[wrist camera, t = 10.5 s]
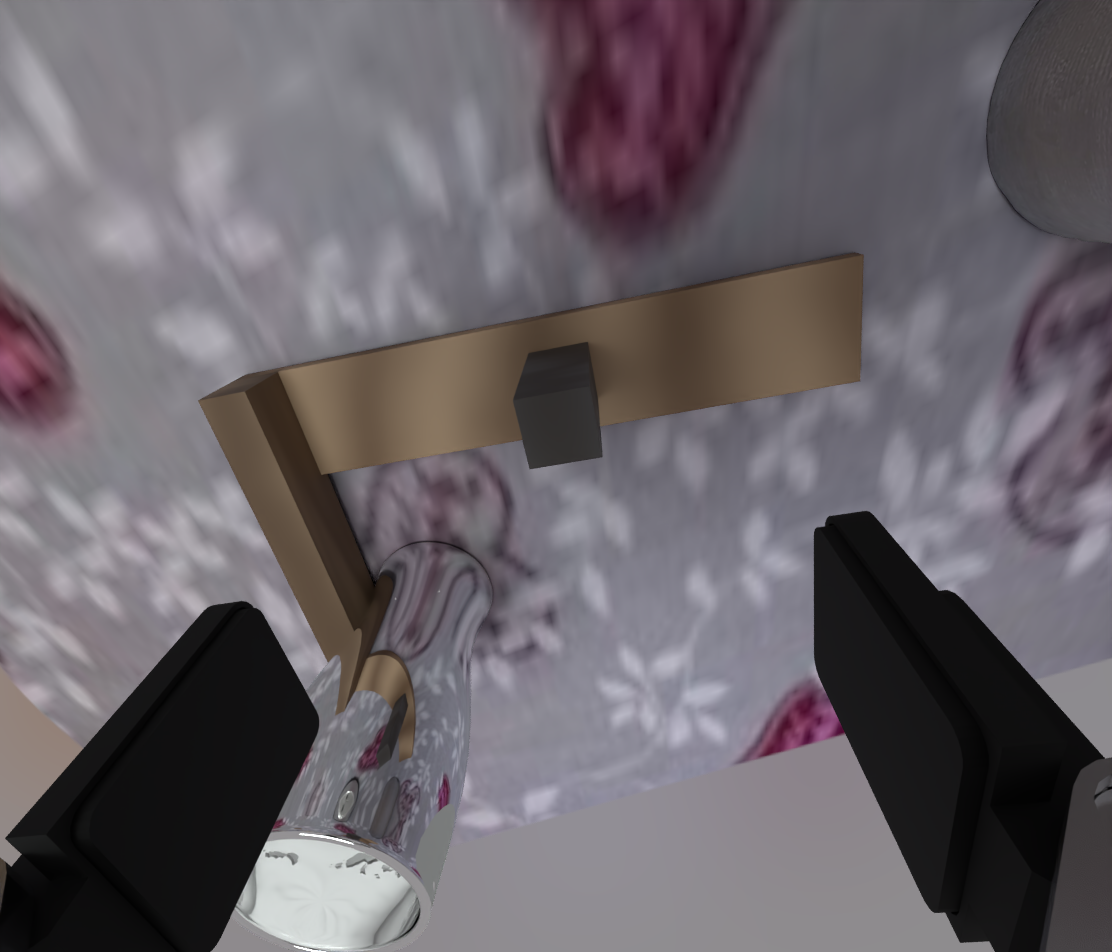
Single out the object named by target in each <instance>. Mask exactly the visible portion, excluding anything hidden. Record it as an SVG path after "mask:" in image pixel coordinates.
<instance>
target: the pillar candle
mask: <svg viewBox="0 0 1112 952" xmlns="http://www.w3.org/2000/svg"><path fill="white" fill-rule="evenodd" d="M987 122H988V124H987V142H988V143H987V149H988V161H989V165H990V169H991V172H992V175H993V177H994V179H995V181H996V182H997V185H998V187H999V188H1000V189H1001V190H1002V192H1003V193H1004V195H1005V196H1006V197H1007V198H1008V200H1009V202H1010V203H1011V204H1012V205H1013V207H1014V209H1015V210H1016V211H1017V212H1018V213H1020V214H1021V215H1022V216H1023V217H1024V218H1025V219H1026V220H1028V221H1029V222H1031V223H1032V224H1033V225H1035V226H1036V227H1038V228H1039V229H1041V230H1044V231H1046V232H1048V233H1052V234H1056V235H1060V236H1063V237H1066V238H1076V239H1079V240H1081V241H1087V242H1104V243H1110V244H1112V0H1040V1H1039V3H1038V4H1037V5H1036V7H1035V8H1034V9H1033V11H1032V12H1031V14H1030V15H1029V17H1028V18H1027V20H1026V21H1025V23H1024V24H1023V26H1022V28H1021V29H1020V31H1019V33H1018V34H1017V36H1016V38H1015V40H1014V42H1013V44H1012V46H1011V48H1010V50H1009V52H1008V55H1007V56H1006V58H1005V60H1004V62H1003V64H1002V66H1001V70H1000V73H999V76H998V78H997V82H996V86H995V89H994V92H993V95H992V99H991V106H990V111H989V115H988V119H987Z"/></svg>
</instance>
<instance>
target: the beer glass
mask: <svg viewBox="0 0 1112 952" xmlns="http://www.w3.org/2000/svg"><path fill="white" fill-rule="evenodd" d="M492 598H493V592H492V586H491V582H490V579H489V577H488V575H487V573H486V571H485V570H484V568H483V567H482V566H481V565H480V563H479V562H478V561H477V560H475V559H474V558H473V557H472V556H471V555H469V554H468V553H466V552H464V551H463V550H461V549H459V548H456V547H454V546H451V545H448V544H443V543H437V542H420V543H414V544H410V545H407V546H405V547H403V548H401V549H399V550H397V551H396V552H394V553H393V554H392V555H391V556H390V557H389V558H388V559H387V560H386V561H385V562H384V564H383V565H382V567H381V569H380V571H379V574H378V577H377V581H376V585H375V589H374V594H373V599H372V602H371V605H370V608H369V610H368V612H367V614H366V616H365V617H364V619H363V621H362V622H361V624H360V625H359V626H358V627H357V629H356V630H355V631H354V633H353V634H352V635H351V636H350V637H349V639H348V640H347V641H346V642H345V643H344V644H343V646H342V647H341V648H340V649H339V650H338V651H337V653H336V654H335V655H334V656H333V657H332V659H331V660H330V661H329V662H328V663H327V665H326V666H325V667H324V668H323V670H322V671H321V672H320V673H319V674H318V676H317V677H316V678H315V679H314V681H313V682H312V684H311V685H310V686H309V688H308V689H307V690H306V693H307V694H308V696H309V698H310V700H311V702H312V703H313V705H314V707H315V709H316V710H317V713H318V715H319V730H318V734H317V736H316V738H315V741H314V743H313V745H312V747H311V749H310V751H309V753H308V755H307V757H306V759H305V762H304V764H303V766H302V768H301V770H300V772H299V774H298V776H297V778H296V780H295V783H294V785H293V787H292V789H291V791H290V793H289V795H288V797H287V799H286V801H285V804H284V806H283V808H282V810H281V812H280V814H279V816H278V818H277V820H276V822H275V825H274V827H273V829H272V831H271V833H270V835H269V837H268V839H267V841H266V843H265V846H264V848H263V850H262V852H261V854H260V856H259V858H258V860H257V862H256V864H255V867H254V869H253V871H252V873H251V875H250V877H249V879H248V881H247V883H246V885H245V888H244V890H243V892H242V894H241V896H240V898H239V900H238V902H237V904H236V906H235V909H234V911H233V913H232V915H231V918H232V919H233V920H234V921H235V922H237V923H238V924H239V925H240V926H242V927H243V928H245V929H246V930H247V931H249V932H251V933H252V934H254V935H256V936H258V937H259V938H261V939H264V940H266V941H268V942H270V943H272V944H275V945H277V946H280V947H283V948H286V949H289V950H293V951H295V952H394V951H397V950H399V949H402V948H404V947H405V946H407V945H409V944H411V943H412V942H414V941H415V940H416V939H417V938H418V937H419V936H420V935H421V934H422V933H423V931H424V930H425V929H426V927H427V925H428V923H429V920H430V917H431V909H432V905H433V901H434V898H435V894H436V890H437V887H438V883H439V880H440V876H441V873H442V870H443V866H444V863H445V860H446V856H447V853H448V849H449V845H450V842H451V838H452V834H453V831H454V827H455V823H456V819H457V814H458V810H459V806H460V802H461V797H462V793H463V787H464V781H465V775H466V769H467V763H468V757H469V743H470V728H471V662H472V652H473V646H474V643H475V640H476V637H477V635H478V633H479V631H480V629H481V627H482V625H483V623H484V622H485V620H486V618H487V615H488V613H489V611H490V608H491V604H492Z"/></svg>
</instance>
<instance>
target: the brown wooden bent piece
mask: <svg viewBox="0 0 1112 952" xmlns="http://www.w3.org/2000/svg"><path fill="white" fill-rule="evenodd" d="M863 259H864V255H863V254H859V253H850V254H845V255H840V256H835V257H830V258H825V259H820V260H815V261H810V262H805V263H800V264H795V265H790V266H785V267H780V268H775V269H770V270H765V271H760V272H755V273H751V274H746V275H741V276H736V277H731V278H726V279H721V280H716V281H711V282H706V283H701V284H696V285H691V286H686V287H681V288H676V289H671V290H666V291H661V292H656V293H651V294H646V295H641V296H636V297H631V298H626V299H621V300H616V301H611V302H606V303H601V304H596V305H591V306H586V307H581V308H576V309H571V310H566V311H561V312H556V313H551V314H546V315H541V316H536V317H531V318H526V319H521V320H516V321H511V322H507V323H502V324H497V325H492V326H487V327H482V328H477V329H472V330H467V331H462V332H457V333H452V334H447V335H442V336H437V337H432V338H427V339H422V340H417V341H412V342H407V343H402V344H397V345H392V346H387V347H382V348H377V349H372V350H367V351H362V352H357V353H352V354H347V355H342V356H337V357H332V358H327V359H322V360H317V361H312V362H307V363H302V364H297V365H292V366H287V367H282V368H277V369H272V370H267V371H263V372H258V373H253V374H248V375H244V376H242V377H240V378H239V379H237V380H235V381H233V382H231V383H229V384H228V385H226V386H224V387H222V388H220V389H219V390H217V391H215V392H213V393H211V394H209V395H208V396H206V397H204V398H202V399H200V400H198V402H199V404H200V406H201V408H202V410H203V412H204V414H205V416H206V418H207V420H208V422H209V424H210V426H211V428H212V430H213V432H214V434H215V436H216V438H217V440H218V442H219V444H220V446H221V448H222V450H223V452H224V454H225V456H226V458H227V460H228V462H229V464H230V466H231V468H232V470H233V472H234V474H235V476H236V478H237V480H238V482H239V484H240V486H241V488H242V490H243V492H244V494H245V496H246V498H247V500H248V502H249V504H250V506H251V508H252V510H253V512H254V514H255V516H256V518H257V520H258V522H259V524H260V526H261V528H262V530H263V532H264V535H265V537H266V539H267V541H268V543H269V545H270V547H271V549H272V551H273V553H274V555H275V557H276V559H277V561H278V563H279V565H280V567H281V569H282V571H283V573H284V575H285V577H286V579H287V581H288V583H289V585H290V587H291V589H292V591H293V593H294V595H295V597H296V599H297V601H298V603H299V605H300V607H301V609H302V611H303V613H304V615H305V617H306V619H307V621H308V623H309V625H310V627H311V629H312V631H313V633H314V635H315V637H316V639H317V641H318V643H319V645H320V647H321V649H322V651H323V653H324V655H325V657H326V659H327V661H328V662H329V661H330V660H331V659H332V657H333V656H334V655H335V654H336V653H337V651H338V650H339V649H340V648H341V647H342V646H343V644H344V643H345V642H346V641H347V640H348V639H349V637H350V636H351V635H352V634H353V633H354V631H355V630H356V629H357V627H358V626H359V625H360V624H361V622H362V621H363V619H364V617H365V616H366V614H367V612H368V610H369V608H370V605H371V602H372V599H373V594H374V589H375V587H374V584H373V582H372V580H371V577H370V575H369V572H368V570H367V568H366V565H365V563H364V560H363V558H362V556H361V553H360V551H359V548H358V546H357V544H356V541H355V539H354V537H353V534H352V532H351V529H350V527H349V525H348V522H347V520H346V517H345V515H344V513H343V510H342V508H341V505H340V503H339V501H338V498H337V496H336V494H335V491H334V489H333V486H332V484H331V482H330V479H329V477H328V474H329V473H335V472H340V471H346V470H352V469H358V468H363V467H369V466H375V465H381V464H386V463H392V462H398V461H404V460H409V459H415V458H421V457H427V456H432V455H438V454H444V453H450V452H455V451H461V450H467V449H473V448H478V447H484V446H490V445H496V444H501V443H507V442H513V441H519V440H523V444H524V448H525V452H526V456H527V460H528V464H529V468H530V469H534V468H540V467H546V466H552V465H558V464H564V463H570V462H576V461H582V460H588V459H594V458H600V457H602V443H601V430H600V426H605V425H611V424H616V423H622V422H628V421H634V420H639V419H645V418H651V417H657V416H662V415H668V414H674V413H680V412H685V411H691V410H697V409H703V408H708V407H714V406H720V405H726V404H731V403H737V402H743V401H749V400H754V399H760V398H766V397H772V396H777V395H783V394H789V393H795V392H800V391H806V390H812V389H818V388H823V387H829V386H835V385H841V384H846V383H852V382H858V381H860V368H861V332H862V296H863Z"/></svg>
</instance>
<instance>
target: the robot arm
mask: <svg viewBox="0 0 1112 952" xmlns="http://www.w3.org/2000/svg"><path fill="white" fill-rule="evenodd" d="M814 659H815V665H816V669H817V673H818V676H819V678H820V681H821V683H822V685H823V687H824V689H825V691H826V693H827V696H828V698H829V700H830V702H831V704H832V706H833V708H834V710H835V713H836V715H837V717H838V719H839V721H840V723H841V725H842V727H843V730H844V732H845V734H846V736H847V738H848V740H849V742H850V744H851V747H852V749H853V751H854V753H855V755H856V757H857V759H858V761H859V763H860V766H861V768H862V770H863V772H864V774H865V776H866V778H867V780H868V783H869V785H870V787H871V789H872V791H873V793H874V795H875V797H876V800H877V802H878V804H879V806H880V808H881V810H882V812H883V814H884V816H885V819H886V821H887V823H888V825H889V827H890V829H891V831H892V834H893V836H894V838H895V840H896V842H897V844H898V846H899V848H900V850H901V853H902V855H903V857H904V859H905V861H906V863H907V865H908V867H909V869H910V872H911V874H912V876H913V878H914V880H915V882H916V884H917V887H918V888H919V891H920V893H921V895H922V897H923V899H924V901H925V902H926V904H927V905H928V907H929V909H930V910H931V911H932V912H934V913H943V912H945V913H946V915H947V917H948V919H949V921H950V923H951V925H952V927H953V929H954V931H955V933H956V935H957V937H958V939H959V941H960V943H964V942H983V941H989V942H990V943H991V945H992V947H993V949H994V951H995V952H1112V758H1106V759H1105V758H1104V757H1103V756H1102V755H1101V754H1100V753H1099V751H1098V750H1097V749H1096V748H1095V747H1094V746H1093V744H1092V743H1091V742H1090V741H1089V740H1088V739H1087V738H1086V737H1085V736H1084V734H1083V733H1082V732H1081V731H1080V730H1079V729H1078V728H1077V727H1076V726H1075V724H1074V723H1073V722H1072V721H1071V720H1070V719H1069V718H1068V717H1067V716H1066V714H1065V713H1064V712H1063V711H1062V710H1061V709H1060V708H1059V707H1058V705H1057V704H1056V703H1055V702H1054V701H1053V700H1052V699H1051V698H1050V697H1049V696H1048V694H1047V693H1046V692H1045V691H1044V690H1043V689H1042V688H1041V687H1040V685H1039V684H1038V683H1037V682H1036V681H1035V680H1034V679H1033V678H1032V677H1031V675H1030V674H1029V673H1028V672H1027V671H1026V670H1025V669H1024V668H1023V666H1022V665H1021V664H1020V663H1019V662H1018V661H1017V660H1016V659H1015V658H1014V656H1013V655H1012V654H1011V653H1010V652H1009V651H1008V650H1007V649H1006V648H1005V646H1004V645H1003V644H1002V643H1001V642H1000V641H999V640H998V639H997V638H996V636H995V635H994V634H993V633H992V632H991V631H990V630H989V629H988V627H987V626H986V625H985V624H984V623H983V622H982V621H981V620H980V619H979V617H978V616H977V615H976V614H975V613H974V612H973V611H972V610H971V609H970V607H969V606H968V605H967V604H966V603H965V602H964V601H963V600H962V599H961V598H960V597H959V596H958V595H956V594H955V593H953V592H951V591H948V590H943V591H938V590H937V589H936V587H935V586H934V585H933V584H932V583H931V582H930V580H929V579H928V578H927V577H926V576H925V575H924V573H923V572H922V571H921V570H920V569H919V568H918V566H917V565H916V564H915V563H914V562H913V561H912V559H911V558H910V557H909V556H908V555H907V554H906V552H905V551H904V550H903V549H902V548H901V547H900V545H899V544H898V543H897V542H896V541H895V540H894V538H893V537H892V536H891V535H890V534H889V533H888V531H887V530H886V529H885V528H884V527H883V526H882V524H881V523H880V522H879V521H878V520H877V519H876V517H875V516H874V515H873V514H872V513H870V512H869V511H862V512H855V513H848V514H841V515H835V516H829V517H828V518H827V519H826V522H825V527H818V528H816V529H815V531H814ZM318 730H319V715H318V713H317V710H316V709H315V707H314V705H313V703H312V702H311V700H310V698H309V696H308V694H307V693H306V691H305V689H304V687H303V685H302V684H301V682H300V680H299V678H298V676H297V675H296V673H295V671H294V669H293V667H292V666H291V664H290V662H289V660H288V658H287V657H286V655H285V653H284V651H283V649H282V648H281V646H280V644H279V642H278V640H277V639H276V637H275V635H274V633H273V631H272V630H271V628H270V626H269V624H268V622H267V621H266V619H265V617H264V615H263V614H262V612H261V611H260V610H258V609H257V608H253V606H252V605H251V604H249V603H248V602H244V601H239V602H232V603H225V604H218V605H213V606H210V607H208V608H207V609H206V610H204V611H203V612H202V614H201V615H200V616H199V617H198V618H197V619H196V620H195V622H194V623H193V624H192V625H191V626H190V627H189V628H188V630H187V631H186V632H185V633H184V634H183V635H182V636H181V638H180V639H179V640H178V641H177V642H176V643H175V644H174V646H173V647H172V648H171V649H170V650H169V651H168V652H167V654H166V655H165V656H164V657H163V658H162V659H161V660H160V662H159V663H158V664H157V665H156V666H155V667H154V668H153V670H152V671H151V672H150V673H149V674H148V675H147V676H146V678H145V679H144V680H143V681H142V682H141V683H140V684H139V686H138V687H137V688H136V689H135V690H134V691H133V693H132V694H131V695H130V696H129V697H128V698H127V699H126V701H125V702H124V703H123V704H122V705H121V706H120V707H119V709H118V710H117V711H116V712H115V713H114V714H113V715H112V717H111V718H110V719H109V720H108V721H107V722H106V723H105V725H104V726H103V727H102V728H101V729H100V730H99V731H98V733H97V734H96V735H95V736H94V737H93V738H92V739H91V741H90V742H89V743H88V744H87V745H86V746H85V747H84V749H83V750H82V751H81V752H80V753H79V754H78V755H77V757H76V758H75V759H74V760H73V761H72V762H71V763H70V765H69V766H68V767H67V768H66V769H65V770H64V772H63V773H62V774H61V775H60V776H59V777H58V778H57V780H56V781H55V782H54V783H53V784H52V785H51V786H50V788H49V789H48V790H47V791H46V792H45V793H44V794H43V796H42V797H41V798H40V799H39V800H38V801H37V802H36V804H35V805H34V806H33V807H32V808H31V809H30V810H29V812H28V813H27V814H26V815H25V816H24V817H23V818H22V820H21V821H20V822H19V823H18V824H17V825H16V826H15V828H14V829H13V830H12V831H11V832H10V834H8V836H7V837H6V838H5V839H6V840H7V841H8V842H9V843H10V844H11V845H12V846H14V847H15V848H16V849H17V850H18V851H19V852H20V853H21V854H22V855H21V856H20V857H19V858H18V860H17V861H16V862H15V863H14V864H13V866H12V867H11V866H10V865H8V864H7V863H6V862H5V861H4V860H3V859H1V858H0V952H210V951H212V950H213V948H214V947H215V946H216V945H217V943H218V941H219V940H220V938H221V936H222V934H223V932H224V929H225V927H226V925H227V923H228V921H229V919H230V917H231V915H232V913H233V911H234V909H235V906H236V904H237V902H238V900H239V898H240V896H241V894H242V892H243V890H244V888H245V885H246V883H247V881H248V879H249V877H250V875H251V873H252V871H253V869H254V867H255V864H256V862H257V860H258V858H259V856H260V854H261V852H262V850H263V848H264V846H265V843H266V841H267V839H268V837H269V835H270V833H271V831H272V829H273V827H274V825H275V822H276V820H277V818H278V816H279V814H280V812H281V810H282V808H283V806H284V804H285V801H286V799H287V797H288V795H289V793H290V791H291V789H292V787H293V785H294V783H295V780H296V778H297V776H298V774H299V772H300V770H301V768H302V766H303V764H304V762H305V759H306V757H307V755H308V753H309V751H310V749H311V747H312V745H313V743H314V741H315V738H316V736H317V734H318Z"/></svg>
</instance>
